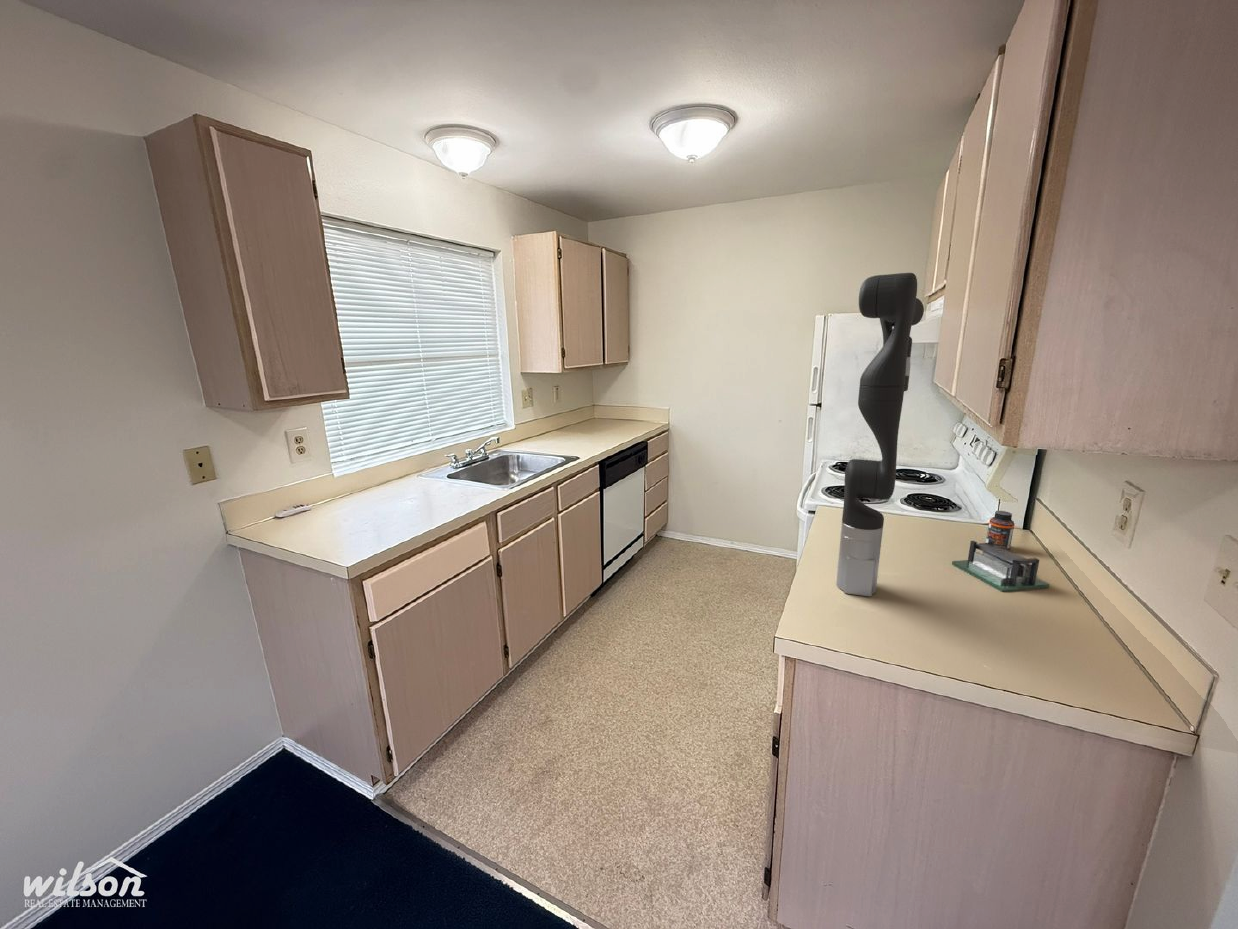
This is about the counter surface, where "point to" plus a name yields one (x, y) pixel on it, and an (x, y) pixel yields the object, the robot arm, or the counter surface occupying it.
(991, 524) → the supplement bottle
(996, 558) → the heatsink
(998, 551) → the retention strap
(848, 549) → the robot arm
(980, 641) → the counter surface
